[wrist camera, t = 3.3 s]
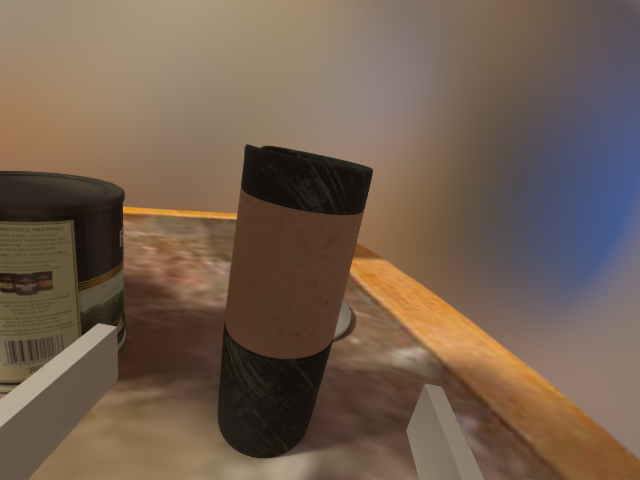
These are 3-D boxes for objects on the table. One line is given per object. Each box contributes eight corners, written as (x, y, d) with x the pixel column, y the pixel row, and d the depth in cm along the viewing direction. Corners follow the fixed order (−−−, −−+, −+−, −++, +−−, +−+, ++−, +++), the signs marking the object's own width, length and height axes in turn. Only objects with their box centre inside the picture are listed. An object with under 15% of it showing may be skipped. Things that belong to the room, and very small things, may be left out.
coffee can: (98, 301, 33) (93, 171, 28) (147, 349, 27) (149, 200, 23) (-50, 341, 24) (-90, 166, 20) (-20, 422, 19) (-66, 210, 15)
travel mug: (331, 434, 23) (403, 175, 17) (233, 485, 18) (283, 156, 12) (284, 367, 29) (326, 155, 23) (202, 392, 24) (225, 137, 18)
